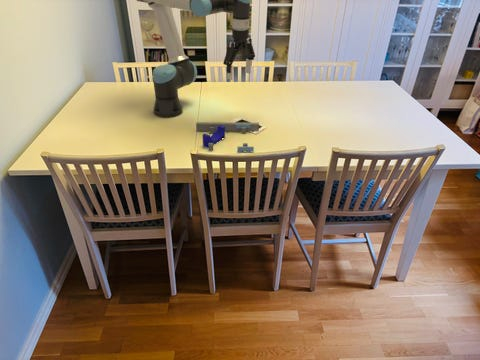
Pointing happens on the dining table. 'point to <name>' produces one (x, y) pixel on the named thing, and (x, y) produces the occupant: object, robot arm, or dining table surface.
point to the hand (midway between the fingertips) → (239, 76)
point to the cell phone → (249, 122)
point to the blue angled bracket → (214, 136)
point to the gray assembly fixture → (229, 127)
